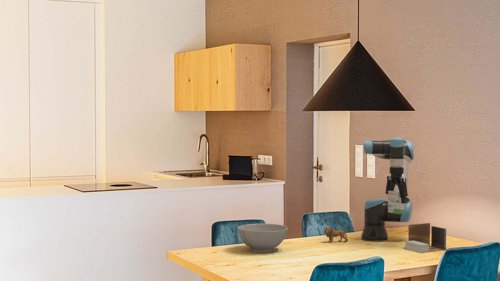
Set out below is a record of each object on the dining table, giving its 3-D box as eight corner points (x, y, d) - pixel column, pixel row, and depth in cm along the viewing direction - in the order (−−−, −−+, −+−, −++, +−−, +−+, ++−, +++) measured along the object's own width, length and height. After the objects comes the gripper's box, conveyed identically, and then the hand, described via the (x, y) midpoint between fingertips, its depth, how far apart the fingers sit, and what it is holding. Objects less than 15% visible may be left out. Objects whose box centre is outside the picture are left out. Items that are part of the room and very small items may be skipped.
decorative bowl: (228, 252, 379) (228, 229, 378) (250, 243, 403) (250, 222, 402) (275, 256, 367) (275, 233, 367) (295, 247, 391) (295, 225, 391)
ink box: (404, 213, 388) (405, 191, 388) (397, 214, 386) (397, 192, 386) (395, 211, 396) (395, 190, 396) (387, 212, 394) (387, 190, 393)
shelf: (400, 249, 386) (401, 225, 386) (428, 246, 395) (428, 222, 395) (421, 254, 372) (421, 229, 372) (449, 251, 381) (449, 227, 380)
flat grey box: (404, 248, 383) (405, 241, 383) (413, 248, 386) (413, 240, 386) (420, 252, 372) (420, 245, 372) (428, 251, 375) (429, 244, 375)
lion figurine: (325, 243, 404) (325, 227, 404) (322, 241, 410) (322, 226, 409) (350, 242, 408) (350, 226, 408) (346, 240, 413) (346, 225, 413)
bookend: (431, 246, 390) (431, 226, 390) (434, 246, 391) (434, 225, 391) (444, 249, 381) (444, 228, 381) (447, 249, 382) (447, 228, 382)
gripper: (378, 165, 398) (378, 206, 399) (403, 168, 379) (403, 211, 380) (389, 165, 401) (389, 205, 402) (415, 167, 382) (414, 210, 383)
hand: (396, 208), depth 391 cm, fingers closed on ink box, 9 cm apart
